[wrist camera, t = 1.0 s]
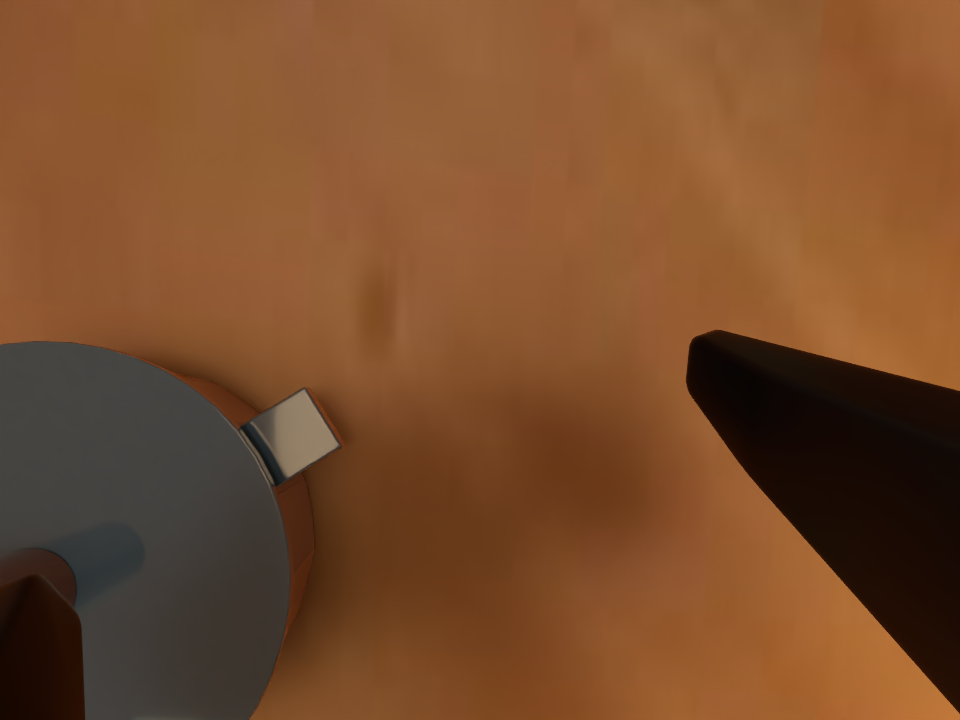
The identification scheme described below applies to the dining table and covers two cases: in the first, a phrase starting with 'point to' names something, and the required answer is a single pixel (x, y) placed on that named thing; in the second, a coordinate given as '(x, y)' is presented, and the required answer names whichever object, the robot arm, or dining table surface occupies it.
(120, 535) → the lid
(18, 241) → the dining table surface
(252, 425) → the pot
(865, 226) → the dining table surface
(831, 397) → the robot arm
